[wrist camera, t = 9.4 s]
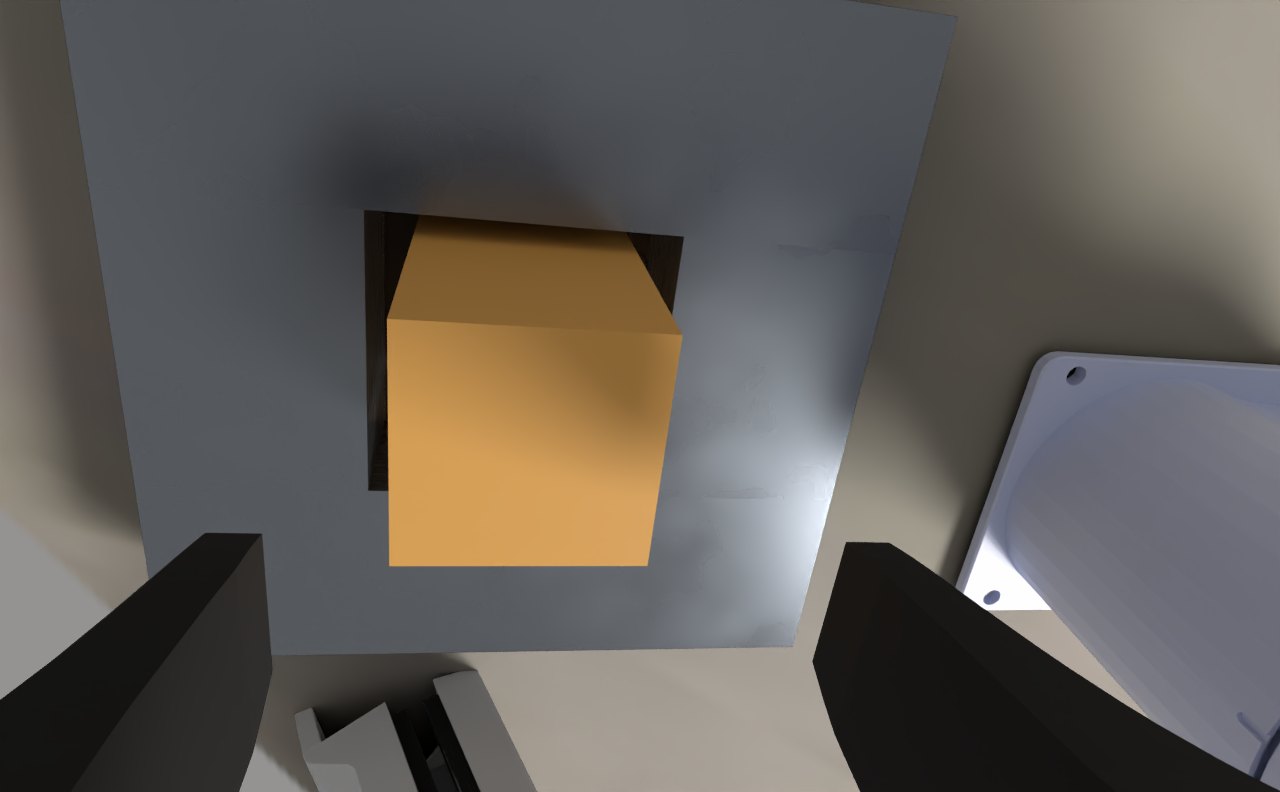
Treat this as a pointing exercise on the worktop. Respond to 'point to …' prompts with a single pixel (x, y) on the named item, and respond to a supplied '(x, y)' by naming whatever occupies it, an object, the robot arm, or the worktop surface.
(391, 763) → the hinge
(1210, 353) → the worktop surface
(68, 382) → the worktop surface
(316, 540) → the grey square-hole board
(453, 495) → the block
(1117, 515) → the robot arm
